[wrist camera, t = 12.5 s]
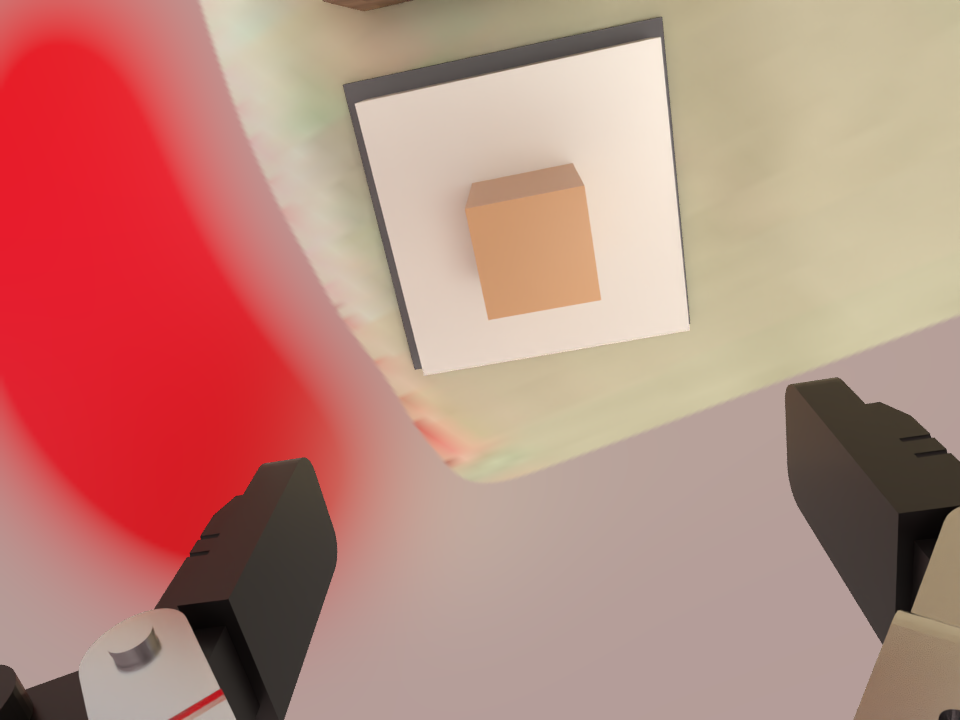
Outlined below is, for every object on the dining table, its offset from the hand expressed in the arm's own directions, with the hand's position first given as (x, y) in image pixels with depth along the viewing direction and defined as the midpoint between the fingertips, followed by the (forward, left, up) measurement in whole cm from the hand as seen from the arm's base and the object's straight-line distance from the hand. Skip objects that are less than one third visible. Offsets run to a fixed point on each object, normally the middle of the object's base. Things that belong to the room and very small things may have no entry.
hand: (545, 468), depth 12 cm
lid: (0, 0, -21) cm, 21 cm away
